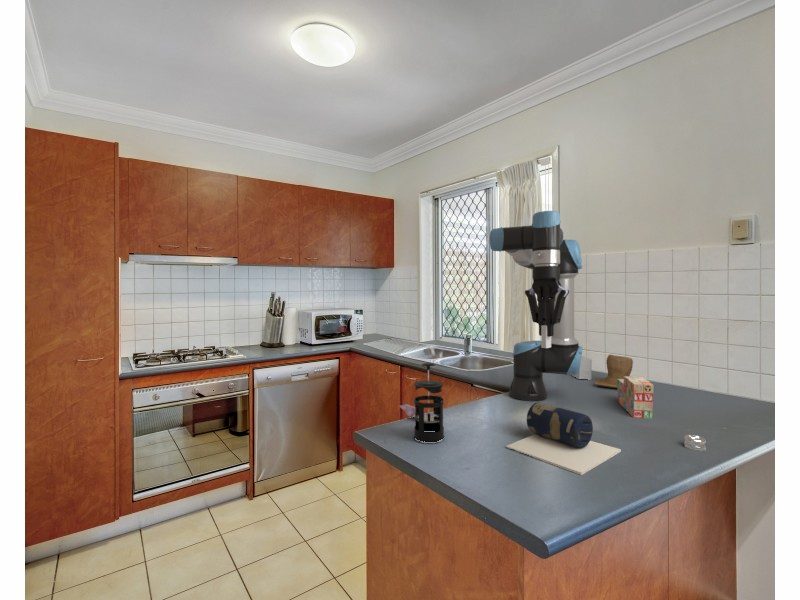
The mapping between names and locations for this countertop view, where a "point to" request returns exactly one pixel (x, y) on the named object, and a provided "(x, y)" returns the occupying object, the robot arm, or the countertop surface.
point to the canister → (560, 424)
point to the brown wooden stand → (615, 370)
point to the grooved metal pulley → (695, 442)
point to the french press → (428, 419)
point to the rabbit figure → (408, 410)
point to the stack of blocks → (636, 396)
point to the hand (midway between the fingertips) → (546, 347)
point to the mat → (565, 453)
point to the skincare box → (584, 369)
